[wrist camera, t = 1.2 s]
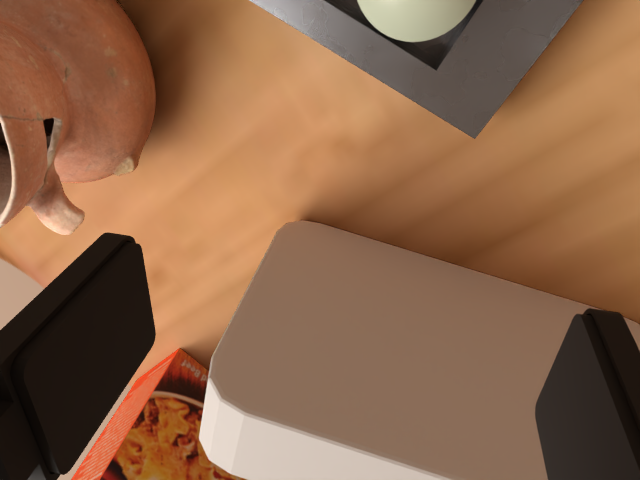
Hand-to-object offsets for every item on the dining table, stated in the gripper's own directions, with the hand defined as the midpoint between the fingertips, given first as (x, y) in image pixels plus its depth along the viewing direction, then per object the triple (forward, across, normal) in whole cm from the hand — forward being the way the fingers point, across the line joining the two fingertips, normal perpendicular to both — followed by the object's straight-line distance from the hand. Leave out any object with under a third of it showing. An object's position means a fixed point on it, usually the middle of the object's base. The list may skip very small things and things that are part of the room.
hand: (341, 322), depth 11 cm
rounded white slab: (+24, -7, +17) cm, 30 cm away
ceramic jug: (+24, +23, +2) cm, 34 cm away
